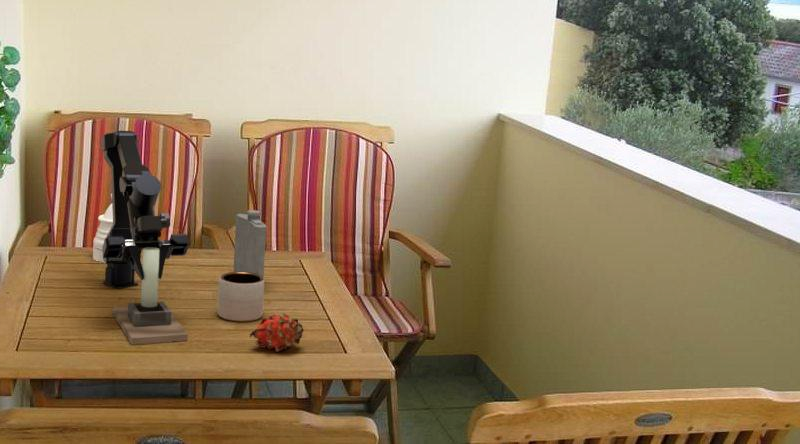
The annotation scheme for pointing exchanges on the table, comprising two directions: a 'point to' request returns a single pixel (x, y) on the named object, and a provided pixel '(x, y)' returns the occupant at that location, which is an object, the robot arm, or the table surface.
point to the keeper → (149, 324)
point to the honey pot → (102, 233)
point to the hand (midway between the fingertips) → (151, 278)
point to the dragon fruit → (278, 332)
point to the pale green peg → (150, 277)
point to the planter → (240, 296)
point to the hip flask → (249, 243)
